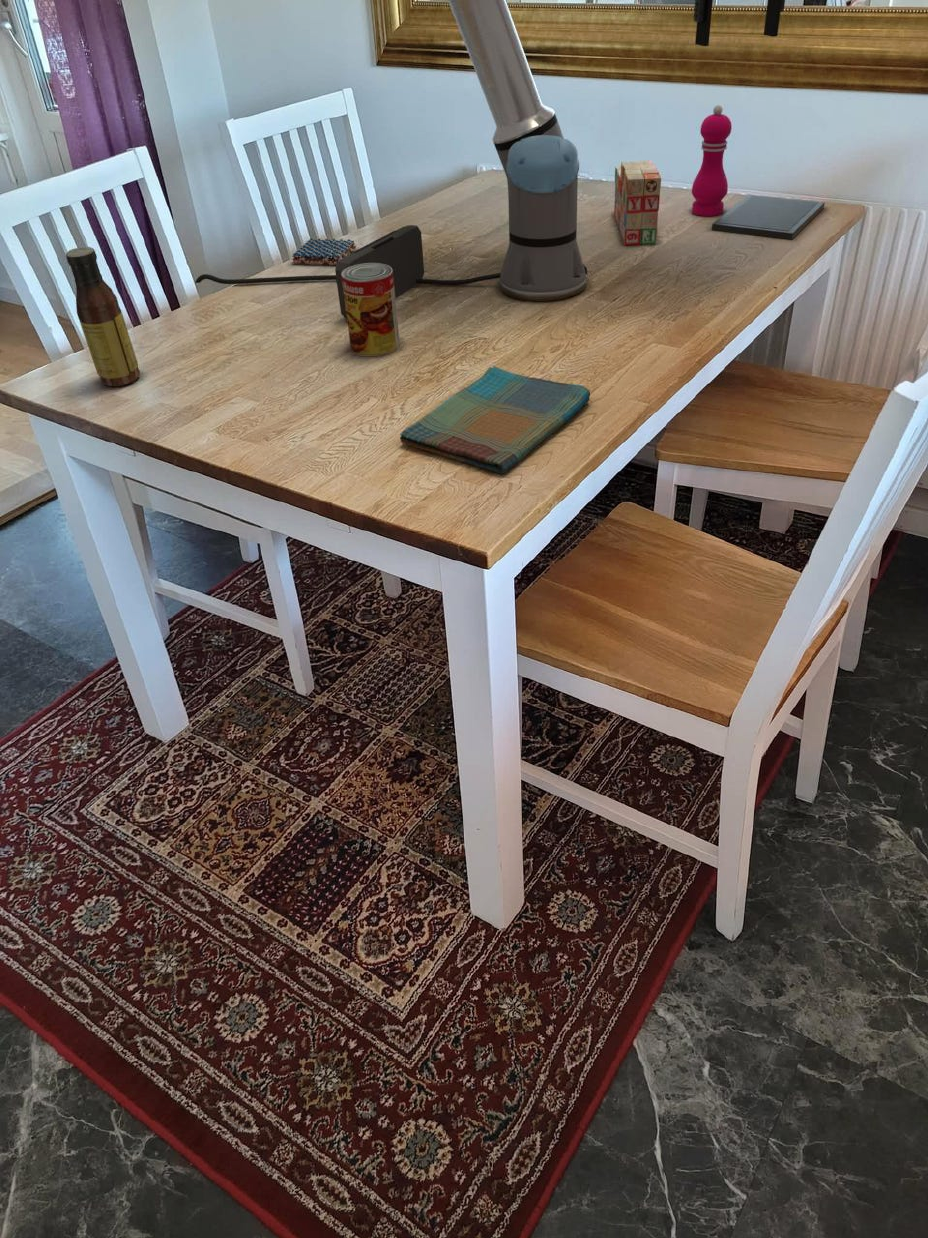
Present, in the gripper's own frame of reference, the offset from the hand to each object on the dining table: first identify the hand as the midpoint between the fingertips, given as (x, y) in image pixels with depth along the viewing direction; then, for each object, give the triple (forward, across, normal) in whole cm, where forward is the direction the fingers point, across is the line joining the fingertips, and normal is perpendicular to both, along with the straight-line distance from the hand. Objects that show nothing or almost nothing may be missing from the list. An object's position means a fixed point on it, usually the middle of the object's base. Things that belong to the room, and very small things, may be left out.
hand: (736, 40), depth 161 cm
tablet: (+35, +21, +12) cm, 42 cm away
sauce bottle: (+35, -110, -1) cm, 115 cm away
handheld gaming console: (+35, -62, +10) cm, 72 cm away
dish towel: (+35, -65, -43) cm, 85 cm away
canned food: (+35, -71, -9) cm, 79 cm away
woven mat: (+35, -65, +38) cm, 83 cm away
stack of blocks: (+35, -4, +21) cm, 41 cm away
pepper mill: (+35, +14, +22) cm, 44 cm away
